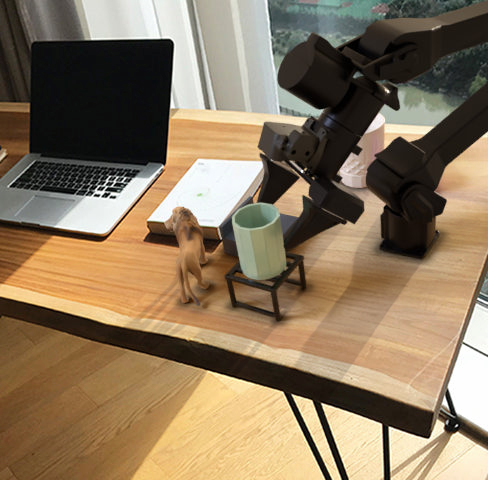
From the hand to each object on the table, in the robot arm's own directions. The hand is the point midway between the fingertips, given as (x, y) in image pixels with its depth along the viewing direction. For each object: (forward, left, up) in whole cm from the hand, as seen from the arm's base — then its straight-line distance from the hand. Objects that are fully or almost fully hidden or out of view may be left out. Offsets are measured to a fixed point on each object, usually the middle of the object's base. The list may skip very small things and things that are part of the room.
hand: (271, 230), depth 88 cm
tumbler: (+1, +1, -5) cm, 5 cm away
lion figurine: (+14, +2, -11) cm, 18 cm away
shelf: (+8, -9, -10) cm, 16 cm away
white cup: (+2, -31, -11) cm, 33 cm away
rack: (+1, +1, -10) cm, 11 cm away
